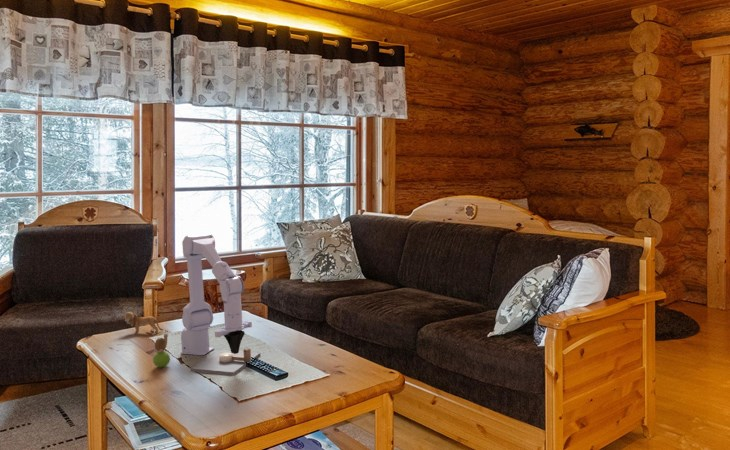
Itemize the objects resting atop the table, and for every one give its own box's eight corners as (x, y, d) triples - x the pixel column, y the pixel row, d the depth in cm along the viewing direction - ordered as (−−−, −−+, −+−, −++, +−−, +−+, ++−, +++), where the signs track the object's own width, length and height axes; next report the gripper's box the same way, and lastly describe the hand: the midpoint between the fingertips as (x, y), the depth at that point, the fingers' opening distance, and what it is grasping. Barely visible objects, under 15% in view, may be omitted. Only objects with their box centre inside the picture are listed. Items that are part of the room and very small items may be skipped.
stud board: (190, 371, 207) (190, 368, 207) (220, 352, 226) (220, 349, 226) (238, 375, 202) (238, 372, 202) (264, 355, 221) (264, 352, 221)
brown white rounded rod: (216, 361, 213) (215, 349, 212) (223, 356, 217) (223, 345, 217) (247, 364, 209) (246, 352, 209) (253, 359, 214) (253, 347, 214)
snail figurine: (175, 364, 214) (173, 330, 213) (163, 370, 208) (161, 336, 207) (162, 362, 216) (160, 329, 215) (150, 368, 210) (148, 334, 209)
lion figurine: (124, 335, 249) (123, 313, 248) (127, 331, 254) (125, 310, 253) (162, 333, 252) (161, 311, 251) (164, 329, 257) (163, 308, 256)
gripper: (224, 320, 197) (226, 361, 199) (257, 310, 209) (259, 349, 211) (209, 316, 201) (211, 357, 203) (242, 307, 213) (244, 345, 215)
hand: (234, 352), depth 207 cm, fingers closed
